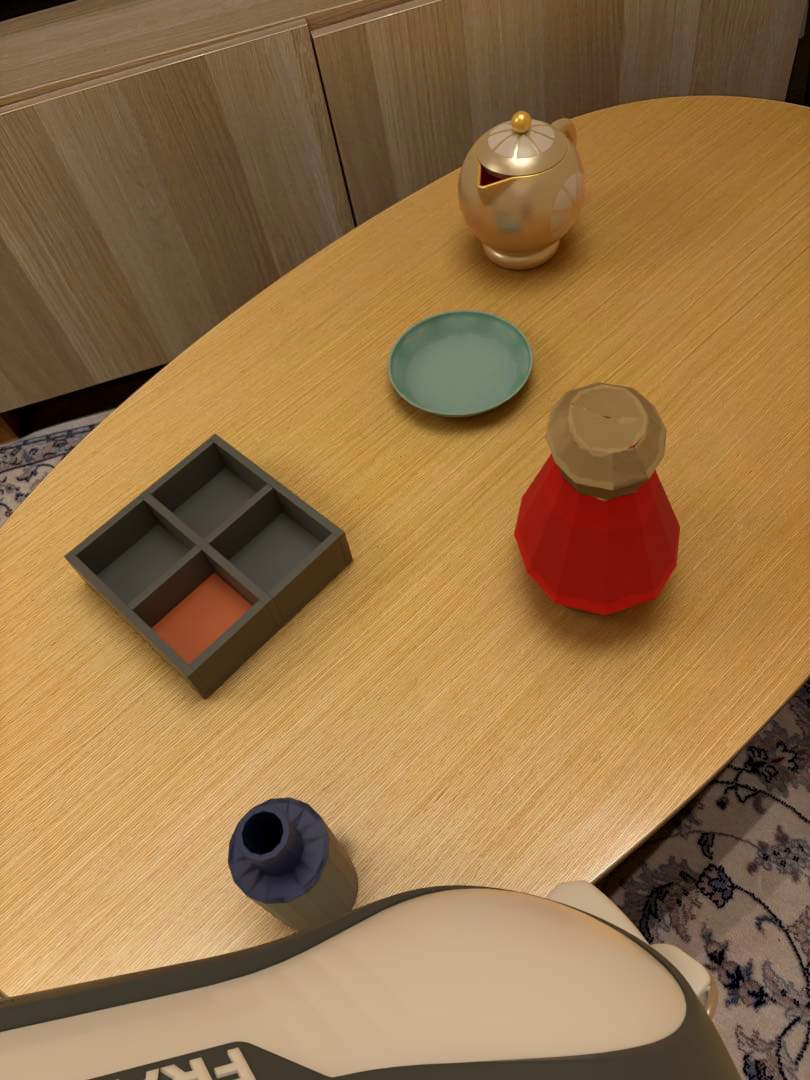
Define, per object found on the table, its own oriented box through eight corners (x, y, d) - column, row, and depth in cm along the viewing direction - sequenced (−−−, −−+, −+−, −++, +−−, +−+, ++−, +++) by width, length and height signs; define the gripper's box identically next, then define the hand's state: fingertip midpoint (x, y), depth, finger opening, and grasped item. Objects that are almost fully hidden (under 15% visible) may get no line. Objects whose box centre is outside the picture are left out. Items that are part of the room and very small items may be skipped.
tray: (205, 700, 73) (187, 677, 69) (85, 582, 81) (63, 556, 77) (353, 560, 79) (344, 531, 75) (228, 463, 87) (214, 432, 83)
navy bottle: (314, 954, 62) (257, 915, 48) (255, 890, 65) (187, 837, 51) (375, 884, 64) (338, 828, 51) (316, 825, 67) (266, 757, 53)
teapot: (534, 307, 94) (537, 173, 81) (435, 264, 100) (422, 132, 86) (620, 215, 101) (636, 77, 87) (522, 180, 107) (523, 45, 93)
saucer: (561, 366, 89) (562, 347, 87) (470, 456, 84) (468, 438, 82) (452, 308, 96) (451, 289, 94) (362, 389, 91) (358, 371, 89)
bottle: (683, 645, 71) (734, 507, 55) (518, 650, 73) (518, 517, 56) (657, 491, 80) (693, 330, 63) (510, 498, 81) (507, 342, 64)
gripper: (705, 934, 30) (509, 803, 43) (225, 1460, 24) (165, 1128, 37) (782, 1052, 32) (571, 892, 44) (349, 1571, 26) (251, 1216, 39)
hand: (384, 1002), depth 41 cm, fingers open, 8 cm apart
